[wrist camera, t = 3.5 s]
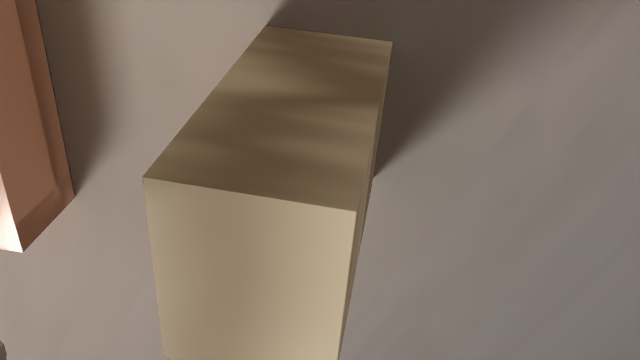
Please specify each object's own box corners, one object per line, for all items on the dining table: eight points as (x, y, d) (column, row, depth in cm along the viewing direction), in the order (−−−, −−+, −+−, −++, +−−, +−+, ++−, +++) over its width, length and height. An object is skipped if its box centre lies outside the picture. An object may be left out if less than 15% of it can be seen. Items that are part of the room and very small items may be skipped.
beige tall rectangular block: (392, 41, 18) (356, 211, 10) (373, 178, 20) (333, 390, 13) (265, 25, 18) (142, 177, 11) (263, 161, 21) (163, 356, 13)
